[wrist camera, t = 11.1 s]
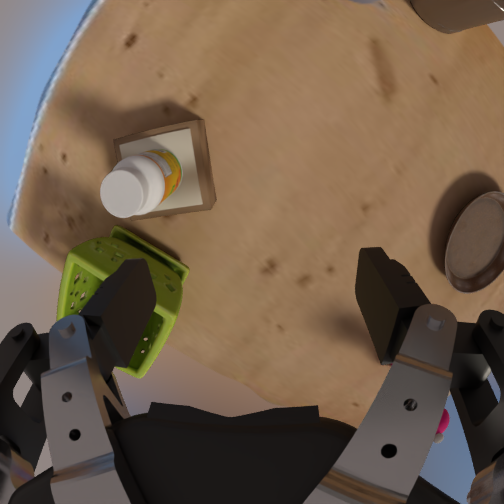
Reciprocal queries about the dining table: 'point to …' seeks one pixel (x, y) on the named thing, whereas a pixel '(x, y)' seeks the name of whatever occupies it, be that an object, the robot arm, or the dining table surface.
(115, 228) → the flower pot
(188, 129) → the pedestal
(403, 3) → the dining table surface
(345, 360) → the dining table surface
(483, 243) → the plant saucer
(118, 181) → the supplement bottle
